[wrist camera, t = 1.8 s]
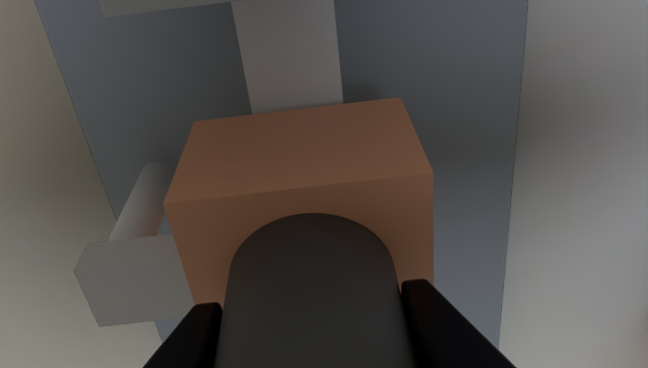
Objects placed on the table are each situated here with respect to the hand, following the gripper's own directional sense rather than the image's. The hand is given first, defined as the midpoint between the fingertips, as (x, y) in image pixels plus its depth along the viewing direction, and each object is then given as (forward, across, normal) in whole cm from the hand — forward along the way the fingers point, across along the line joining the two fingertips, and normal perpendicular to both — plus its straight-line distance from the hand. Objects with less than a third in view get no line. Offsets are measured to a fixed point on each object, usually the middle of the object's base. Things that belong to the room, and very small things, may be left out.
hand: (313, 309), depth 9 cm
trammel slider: (+5, +1, 0) cm, 5 cm away
